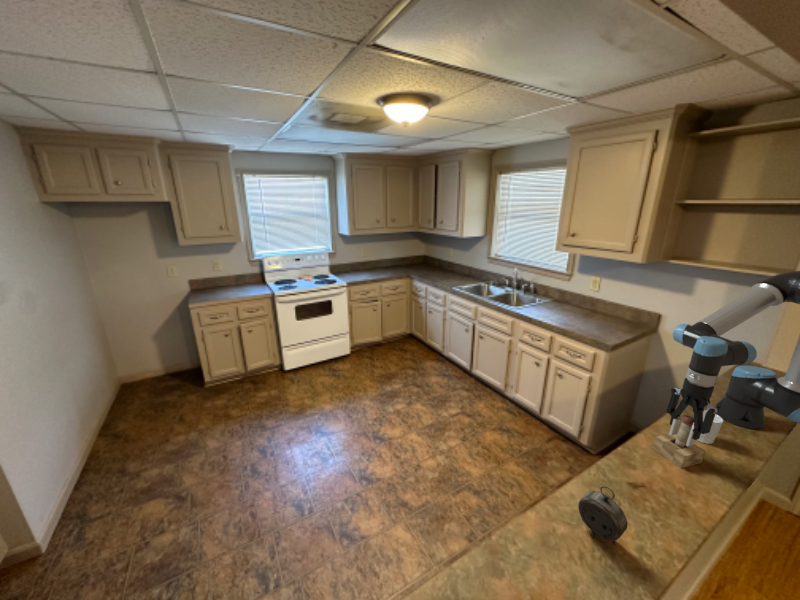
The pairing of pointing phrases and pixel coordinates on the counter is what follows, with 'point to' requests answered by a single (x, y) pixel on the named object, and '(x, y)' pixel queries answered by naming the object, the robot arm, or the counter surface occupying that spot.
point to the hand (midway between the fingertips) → (681, 439)
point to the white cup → (711, 430)
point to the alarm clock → (602, 515)
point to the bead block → (678, 451)
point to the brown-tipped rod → (684, 431)
